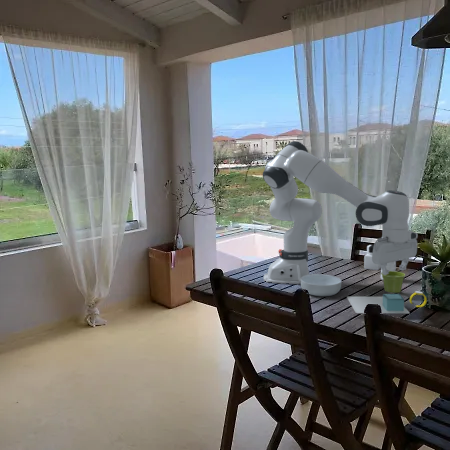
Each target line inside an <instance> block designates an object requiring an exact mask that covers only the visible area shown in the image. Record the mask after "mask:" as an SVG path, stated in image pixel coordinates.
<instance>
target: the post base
mask: <svg viewBox="0 0 450 450" xmlns="http://www.w3.org/2000/svg"><path fill="white" fill-rule="evenodd" d="M346 298H347V300H348V302H349V303H350V305H351V307H352V309H353V311H354V312H355V314H365V313H364V309H365V307H366V305H367V304H378V305H380V306H381V309H382V313H381V314H410V311H409V310H408V309H407V308H406V307H405V306H404V311H387V310H386V309H385V308H384V307H383V296H346Z"/></svg>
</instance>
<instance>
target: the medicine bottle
mask: <svg viewBox="0 0 450 450" xmlns="http://www.w3.org/2000/svg"><path fill="white" fill-rule="evenodd" d="M373 247H374V244H369V245H367V246H366V254H365V255H364V258H363V261H364V262H363V263H364V264H363V265H364V266H363V268H364V270H372V271H379V270H381V267H380V265H379V264H375V263H373V261H372V253H373Z"/></svg>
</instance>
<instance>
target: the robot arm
mask: <svg viewBox="0 0 450 450" xmlns="http://www.w3.org/2000/svg"><path fill="white" fill-rule="evenodd" d="M262 178H263V180H264V182H265V183H266V184H267V185H268V186H269V187H270V189H271V191H272V194H273V196H274V199H273V200H272V201H271V203H270V206H269V214H270V216H271V218H273V219H276V220H279V221H282V222H285V221H286V222H293V227H292V228H290V229H288V230H286V231H285V233H284V234H283V249H279V250H278V252H277V253H278V254H279V258H277V259H276V260H274V261H273V262H272V263H271V264H270V265H269V266H268V270H267V273H265V274H264V275H263V281H264V282H265V281H266V283H268V282H272V283H271V284H286V283H289V285H291V284H292V285H299V284H300V285H301V278H302V277H303V276H306V275H310V270H309V264H308V263H309V250H308V236H309V231H311V230H310V229H311V227H312V226H313V225H314V224H315V223H316V222H317V221H319V220H320V218H321V217H322V214H323V207H322V204H321V203H320V201H319V200H316V199H313V198H312V199H311V198H301V197H300V198H297V197H296V196H298V193H299V186H298V184H297V182H296V180H295V178H296V179H298V181H300V182H301V183H303V184H304V185H305V186H306V187H308V188H309V189H311V190H313V191H315V192H318V193H320V194H321V193H322V194H331V195H336V196H337V197H340V198H342V199H344V200H345V201H347V202H348V203H349V204H351V205H353V206H354V207H356V209H355V218H356V220H357V222H359V224H361V225H363V226H366V227H374V226H375V227H376V226H380V225H382V227H381V228H382V231H381V233H382V235H381V237H379V238H377V239H376V241H375V242H374V244H373V245H374V247H373V253H372V261H373V263H375V264H379V265H380V267H381V268H380V270H381V269H382V274H383V275H387V274H389V270H387V268H386V266H387V263H390V262H394V261H396V262H398V261H401V264H399V271H402V272H403V271H406V270H407V266H408V263H409V259H412V258H414V257H416V255H417V252H418V240H417V239H418V237H419V236H418V232H416V231H415V232H414V231H411V230H409V223H408V220H409V216H410V201H409V197H408V195H407V194H406V193H405V192H402V191H399V190H386V191H384V192H383V193H382V194H378V196H377V195H371V194H369V193H366V192H365V191H363V190H361V189H360V188H358V187H356V186H355V185H353V184H352V183H350V182H349V181H347V180H346V179H345V178H344V177H343V176H342V175H340V173H338V172H337V171H336V170H334V168H332V167H331V166H330V165H329V164H327V163H326V162H325V161H323V160H322V159H320V158H319V157H318V156H316V155H314V154H312V153H309V151H308V148H307V146H305V145H304V144H303V143H302V142H299V141H296V140H293V141H290V142H289V143H287V144H286V145H285V147H283V148H282V149H281V150H280V151H278V152H277V154H276V155H275V157H274V158H273V159H271V160H270V161H268V162H267V164H266V165H265V167H264V170H263V172H262Z"/></svg>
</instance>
